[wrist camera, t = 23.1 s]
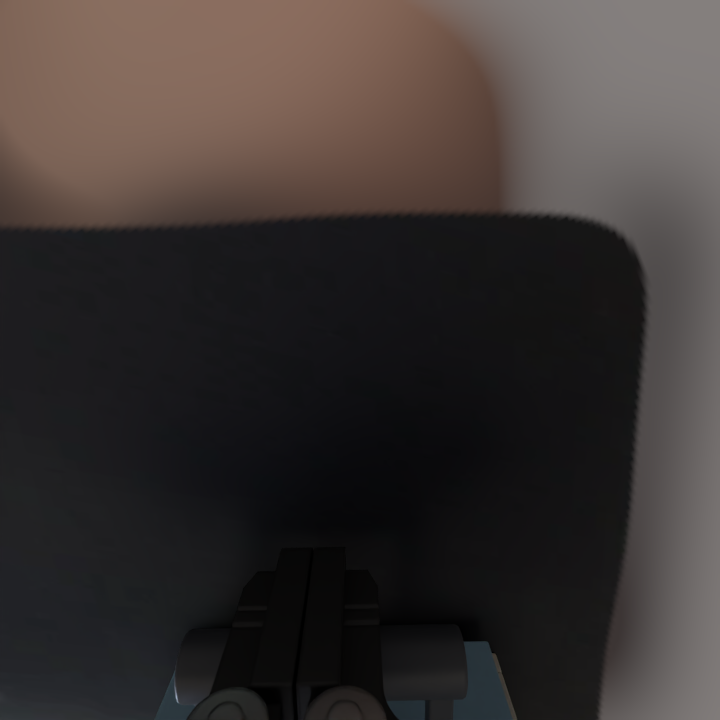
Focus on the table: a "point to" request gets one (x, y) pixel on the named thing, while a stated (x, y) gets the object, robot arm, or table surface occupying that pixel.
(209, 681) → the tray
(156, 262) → the table surface
